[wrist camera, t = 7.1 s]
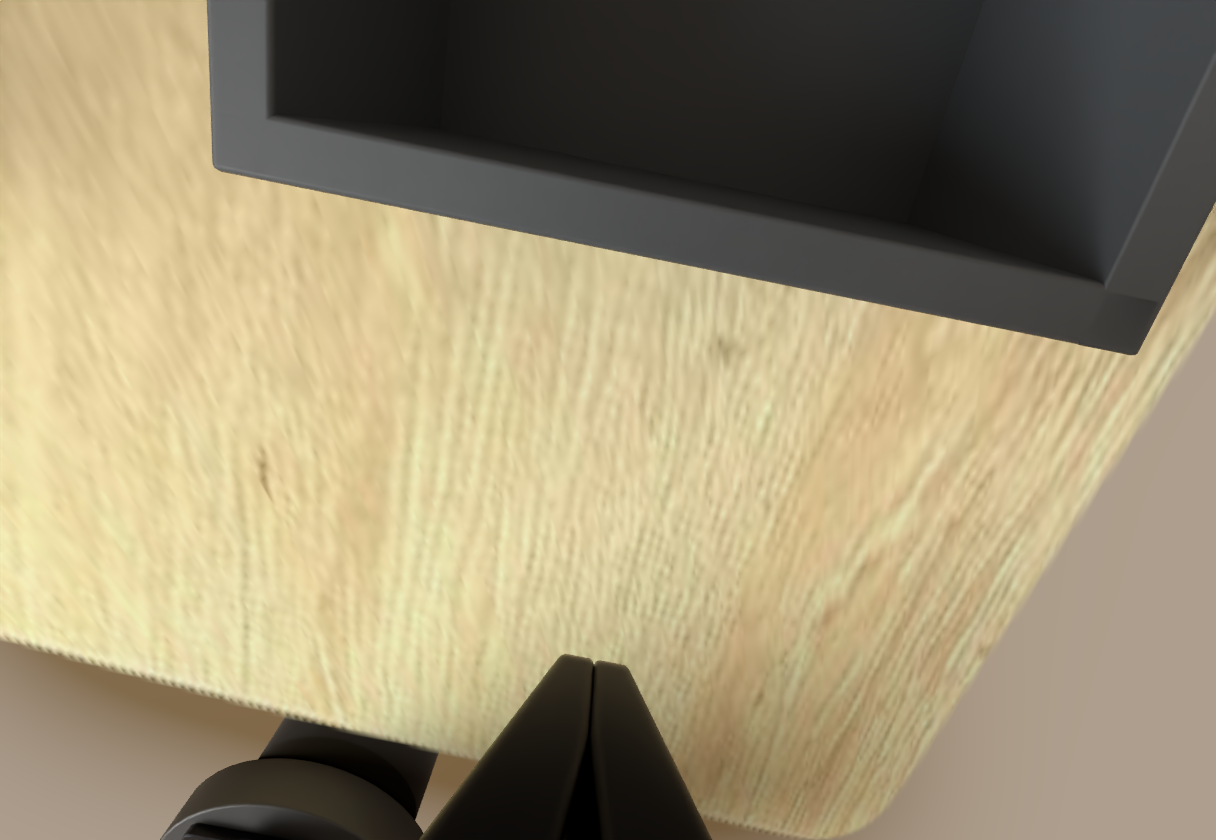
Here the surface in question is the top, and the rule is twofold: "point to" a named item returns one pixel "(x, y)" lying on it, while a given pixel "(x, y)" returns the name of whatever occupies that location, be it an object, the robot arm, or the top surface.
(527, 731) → the robot arm
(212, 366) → the top surface
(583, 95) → the basket
